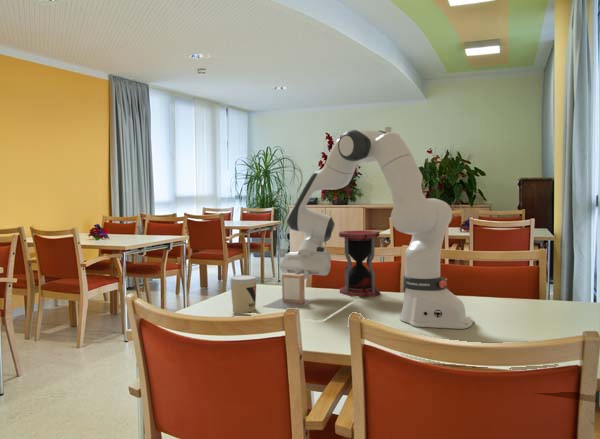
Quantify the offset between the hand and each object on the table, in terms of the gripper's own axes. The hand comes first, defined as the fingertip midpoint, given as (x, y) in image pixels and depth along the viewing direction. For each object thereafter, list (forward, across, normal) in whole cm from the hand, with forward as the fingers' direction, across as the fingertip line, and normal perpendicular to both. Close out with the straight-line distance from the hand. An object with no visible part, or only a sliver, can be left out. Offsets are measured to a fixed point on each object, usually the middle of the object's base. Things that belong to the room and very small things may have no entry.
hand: (299, 281), depth 194 cm
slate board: (+12, 0, -1) cm, 12 cm away
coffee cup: (+21, -11, -10) cm, 26 cm away
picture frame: (+8, 0, +1) cm, 8 cm away
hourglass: (-9, +17, +20) cm, 28 cm away
